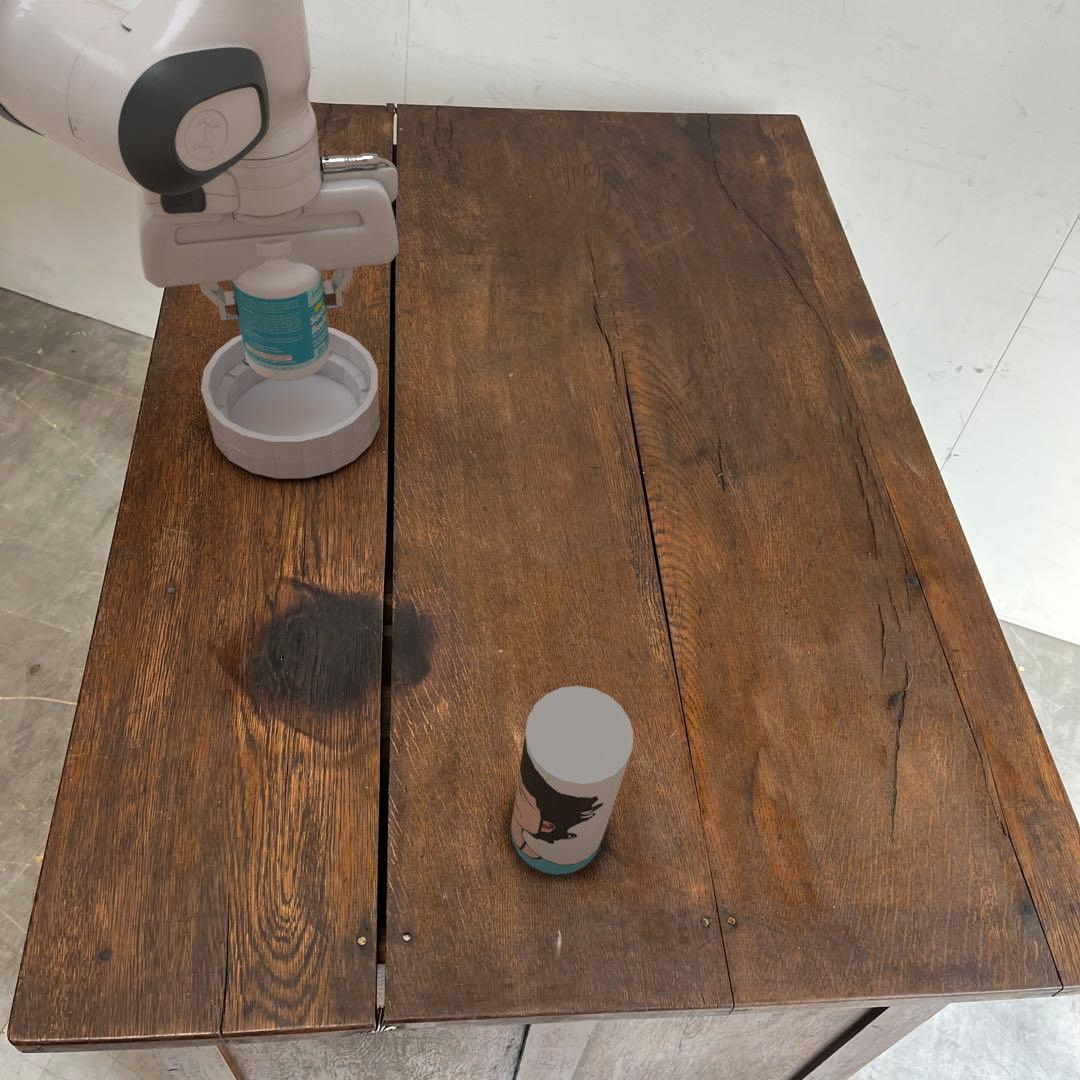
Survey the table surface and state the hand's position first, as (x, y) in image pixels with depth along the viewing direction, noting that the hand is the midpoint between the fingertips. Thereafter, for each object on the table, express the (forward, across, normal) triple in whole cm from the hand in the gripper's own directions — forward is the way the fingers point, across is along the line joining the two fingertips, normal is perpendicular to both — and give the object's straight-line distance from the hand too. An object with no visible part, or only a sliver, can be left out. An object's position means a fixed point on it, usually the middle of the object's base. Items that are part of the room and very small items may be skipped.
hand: (281, 309), depth 88 cm
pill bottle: (+6, 0, 0) cm, 6 cm away
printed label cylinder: (+14, -12, +45) cm, 49 cm away
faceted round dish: (+14, 0, 0) cm, 14 cm away
